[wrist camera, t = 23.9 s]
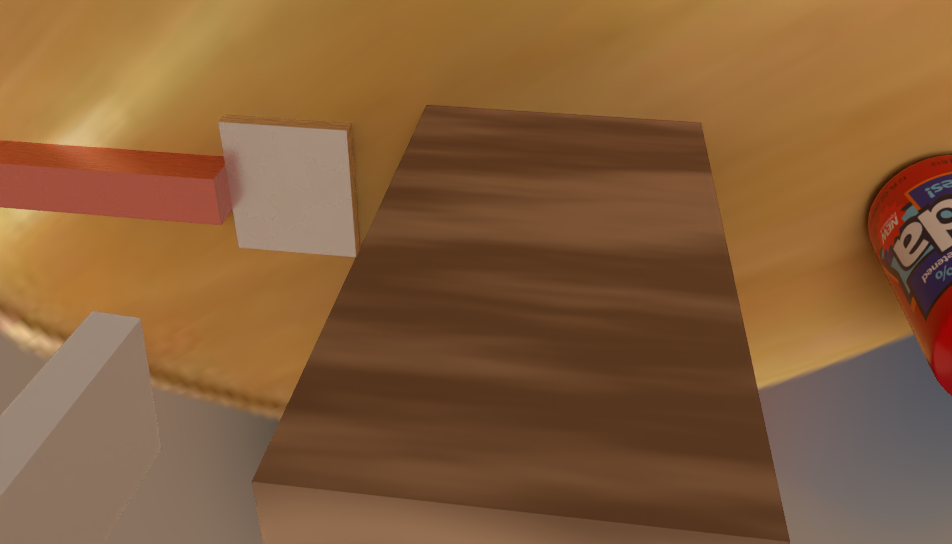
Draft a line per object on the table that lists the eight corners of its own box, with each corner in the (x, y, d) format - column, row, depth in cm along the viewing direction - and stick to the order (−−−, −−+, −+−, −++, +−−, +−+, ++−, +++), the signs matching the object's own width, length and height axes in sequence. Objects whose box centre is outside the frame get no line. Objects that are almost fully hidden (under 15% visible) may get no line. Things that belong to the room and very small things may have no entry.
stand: (426, 105, 51) (251, 481, 26) (700, 122, 50) (789, 541, 25) (429, 273, 58) (292, 701, 33) (672, 294, 56) (719, 760, 31)
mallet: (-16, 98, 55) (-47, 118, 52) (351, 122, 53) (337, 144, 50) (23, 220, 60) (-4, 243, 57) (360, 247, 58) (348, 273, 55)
